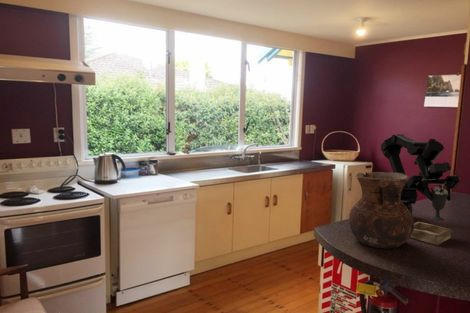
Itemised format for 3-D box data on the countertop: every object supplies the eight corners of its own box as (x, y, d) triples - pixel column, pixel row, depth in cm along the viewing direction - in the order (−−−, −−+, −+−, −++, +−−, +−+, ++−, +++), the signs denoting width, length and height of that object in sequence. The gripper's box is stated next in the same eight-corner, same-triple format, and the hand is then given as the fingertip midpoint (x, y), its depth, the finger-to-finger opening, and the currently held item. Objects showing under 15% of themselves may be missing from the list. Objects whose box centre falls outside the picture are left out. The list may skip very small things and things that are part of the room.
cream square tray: (404, 236, 139) (404, 227, 139) (417, 230, 147) (418, 221, 146) (437, 245, 130) (438, 235, 129) (450, 238, 138) (451, 229, 137)
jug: (335, 235, 138) (339, 170, 135) (379, 230, 146) (383, 168, 143) (377, 257, 118) (382, 181, 115) (426, 249, 125) (432, 178, 122)
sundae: (450, 219, 140) (454, 181, 138) (441, 222, 136) (445, 182, 134) (433, 215, 145) (436, 178, 143) (424, 217, 141) (427, 179, 140)
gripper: (412, 154, 141) (426, 188, 132) (459, 155, 142) (476, 188, 132) (401, 171, 150) (413, 204, 140) (445, 171, 151) (460, 204, 141)
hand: (440, 200), depth 138 cm, fingers closed on sundae, 6 cm apart
